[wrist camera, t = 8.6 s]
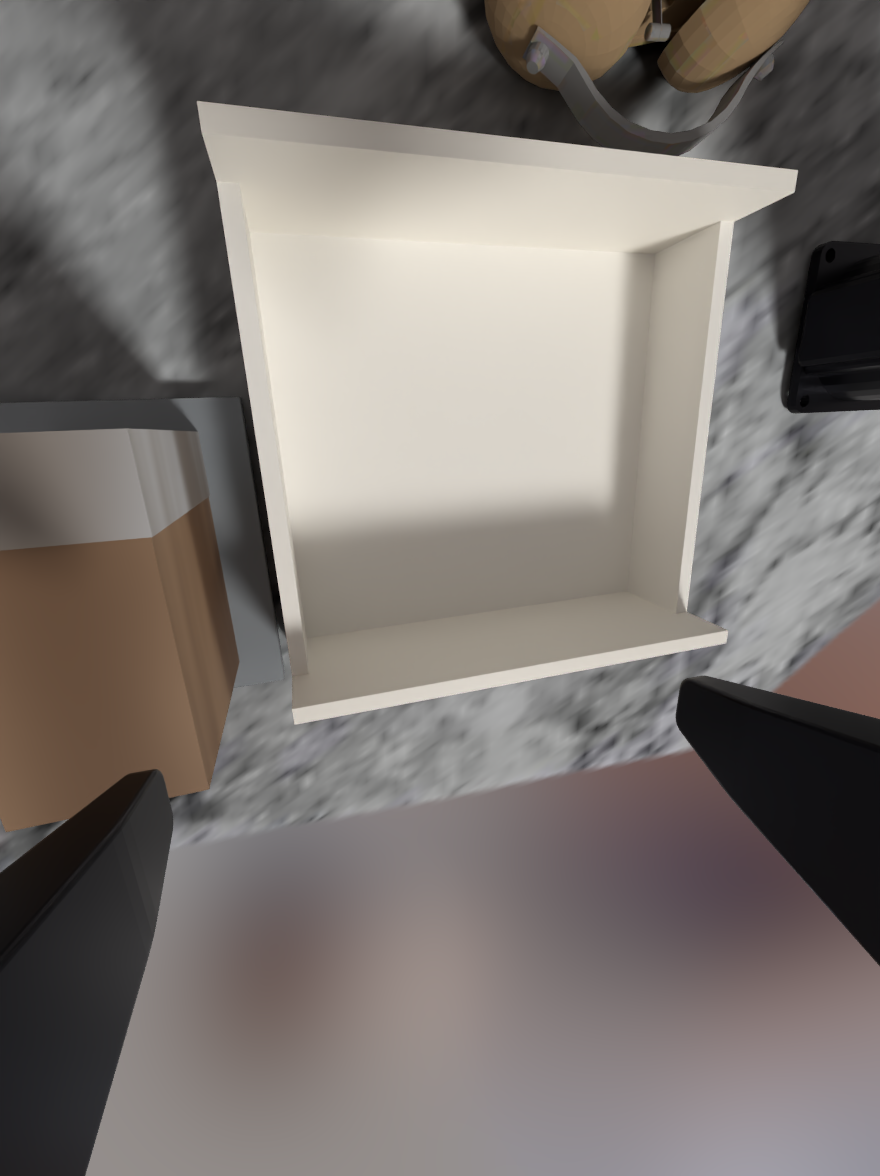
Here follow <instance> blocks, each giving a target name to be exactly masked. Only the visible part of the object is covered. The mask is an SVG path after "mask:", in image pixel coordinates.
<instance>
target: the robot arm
mask: <svg viewBox="0 0 880 1176" xmlns="http://www.w3.org/2000/svg"><path fill="white" fill-rule="evenodd" d="M800 400H801V402H800ZM787 407H788V410H789V411H790V412H791V413H813V412H835V411H857V410H879V409H880V244H868V243H854V242H839V241H831V242H828V243H825V244H822V245H819V246H818V247H817V248H816V249H815V250H814V252H813V254H812V258H811V263H810V269H809V275H808V281H807V287H806V293H805V299H804V305H803V311H802V317H801V323H800V329H799V335H798V341H797V347H796V353H795V359H794V365H793V371H792V377H791V383H790V389H789V395H788V401H787ZM676 723H677V726H678V728H679V730H680V731H681V733H682V734H683V735H684V737H685V738H686V739H687V741H688V742H689V743H690V745H691V746H692V747H693V749H694V750H695V751H696V753H697V754H698V755H699V757H700V758H701V759H702V761H703V762H704V763H705V765H706V766H707V767H708V769H709V770H710V771H711V773H712V774H713V775H714V777H715V778H716V779H717V781H718V782H719V783H720V785H721V786H722V787H723V789H724V790H725V791H726V792H727V794H728V795H729V796H730V798H731V799H732V800H733V801H734V802H735V803H736V805H738V807H739V808H740V809H741V810H742V812H743V813H744V814H745V815H746V816H747V817H748V818H749V819H750V821H751V822H752V823H753V824H754V825H755V826H756V827H757V828H758V830H759V831H760V832H761V833H762V834H763V835H764V836H765V837H766V839H767V840H768V841H769V842H770V843H771V844H772V845H773V846H774V847H775V849H776V850H777V851H778V852H779V853H780V854H781V855H782V856H783V858H784V859H785V860H786V861H787V862H788V863H789V864H790V866H791V867H792V868H793V869H794V870H795V871H796V872H797V873H798V874H799V876H800V877H801V878H802V879H803V880H804V881H805V883H806V884H807V885H808V886H809V887H810V888H811V889H812V890H813V891H814V893H815V894H816V895H817V896H818V897H819V898H820V899H821V901H823V903H824V904H825V905H826V906H827V907H828V908H829V910H830V911H831V912H832V913H833V914H834V915H835V916H836V917H837V918H838V920H839V921H840V922H841V923H842V924H843V925H844V926H845V928H846V929H847V930H848V931H849V932H850V933H851V934H852V935H853V937H854V938H855V939H856V940H857V941H858V942H859V943H860V944H861V945H862V947H863V948H864V949H865V950H866V951H867V952H868V953H869V954H870V956H871V957H872V958H873V959H874V960H875V961H876V962H877V964H878V965H879V966H880V719H877V718H873V717H869V716H865V715H861V714H857V713H853V712H849V711H845V710H841V709H837V708H833V707H829V706H825V705H821V704H817V703H813V702H809V701H805V700H801V699H797V698H793V697H789V696H785V695H781V694H777V693H773V692H769V691H765V690H761V689H757V688H753V687H749V686H745V685H741V684H737V683H733V682H729V681H725V680H721V679H717V678H713V677H709V676H697V677H692V678H687V679H685V680H683V681H682V683H681V685H680V690H679V697H678V703H677V710H676ZM172 831H173V813H172V809H171V805H170V801H169V797H168V793H167V788H166V784H165V780H164V777H163V774H162V773H161V771H159V770H158V769H152V770H146V771H140V772H134V773H129V774H127V775H126V776H124V777H123V778H122V779H120V780H119V781H118V782H116V783H115V784H114V785H113V786H111V787H110V788H109V789H107V790H106V791H105V792H103V793H102V794H101V795H100V796H98V797H97V798H96V799H94V800H93V801H92V802H91V803H89V804H88V805H87V806H85V807H84V808H83V809H82V810H80V811H79V812H78V813H76V814H75V815H74V816H73V817H71V818H70V819H69V820H67V821H66V822H65V823H64V824H62V825H61V826H60V827H58V828H57V829H56V830H55V831H53V832H52V833H51V834H49V835H48V836H47V837H46V838H44V839H43V840H42V841H40V842H39V843H38V844H37V845H35V846H34V847H33V848H31V849H30V850H29V851H28V852H26V853H25V854H24V855H22V856H21V857H20V858H19V859H17V860H16V861H15V862H13V863H12V864H11V865H10V866H8V867H7V868H6V869H4V870H3V871H2V872H1V873H0V1176H85V1175H86V1171H87V1167H88V1164H89V1161H90V1157H91V1154H92V1150H93V1147H94V1143H95V1140H96V1136H97V1133H98V1129H99V1126H100V1122H101V1119H102V1116H103V1112H104V1109H105V1105H106V1101H107V1098H108V1095H109V1092H110V1088H111V1085H112V1081H113V1078H114V1074H115V1071H116V1067H117V1064H118V1060H119V1057H120V1053H121V1050H122V1046H123V1043H124V1040H125V1036H126V1033H127V1029H128V1026H129V1022H130V1019H131V1015H132V1012H133V1008H134V1004H135V1001H136V998H137V994H138V991H139V988H140V984H141V981H142V977H143V974H144V971H145V967H146V963H147V960H148V956H149V953H150V949H151V945H152V941H153V937H154V932H155V927H156V922H157V916H158V911H159V906H160V900H161V894H162V888H163V883H164V877H165V870H166V866H167V860H168V854H169V849H170V843H171V837H172Z"/></svg>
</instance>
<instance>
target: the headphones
mask: <svg viewBox="0 0 880 1176" xmlns="http://www.w3.org/2000/svg"><path fill="white" fill-rule="evenodd" d="M809 1H810V0H485V11H486V18H487V21H488V24H489V27H490V30H491V33H492V36H493V38H494V41H495V43H496V46H497V48H498V49H499V51H500V52H501V54H502V55H503V57H504V58H505V60H506V61H507V63H508V64H509V66H510V67H511V68H512V69H513V70H515V71H516V72H517V73H518V74H519V75H520V76H521V77H523V78H524V79H525V80H526V81H528V82H530V83H532V84H534V85H537V86H539V87H541V88H546V89H552V90H559V91H560V93H561V94H562V96H563V98H564V100H565V101H566V103H567V105H568V106H569V108H570V110H571V111H572V113H573V114H574V116H575V118H576V119H577V121H578V123H579V124H580V125H581V126H582V127H583V128H584V129H585V131H586V132H587V133H588V134H589V135H590V136H591V138H592V139H594V140H595V141H596V142H597V143H599V144H600V145H601V146H603V147H604V148H610V149H619V150H628V151H636V152H645V153H654V154H662V155H671V156H679V155H681V154H684V153H686V152H688V151H690V150H691V149H692V148H694V147H695V146H696V145H697V144H698V143H700V142H701V141H702V140H703V139H704V138H705V137H707V136H708V135H709V134H710V133H711V132H712V131H714V130H715V129H716V128H717V127H718V126H719V125H720V124H722V123H723V122H724V121H725V120H726V119H727V118H728V117H729V116H730V114H731V113H732V112H733V110H734V109H735V108H736V106H737V105H738V103H739V102H740V100H741V98H742V96H743V94H744V92H745V90H746V89H747V87H748V85H749V83H750V82H751V80H752V79H753V77H754V78H756V79H757V80H759V81H761V80H762V79H763V78H764V77H765V76H767V75H768V74H769V73H770V72H771V71H772V70H773V66H774V60H775V59H774V56H773V52H774V51H775V50H776V49H777V48H778V47H779V46H780V45H782V44H783V40H781V41H780V42H779V43H777V44H776V45H775V46H774V47H772V46H773V45H774V44H775V43H776V42H777V41H778V40H779V39H780V38H781V37H782V36H783V35H784V34H785V33H786V31H787V30H788V29H789V28H790V27H791V25H792V24H793V23H794V22H795V21H796V19H797V18H798V17H799V15H800V14H801V12H802V11H803V10H804V8H805V7H806V6H807V4H808V3H809ZM672 38H673V39H672ZM670 39H672V40H671V41H670V42H669V44H668V45H667V46H666V48H665V49H664V50H663V52H662V54H661V55H660V57H659V59H658V61H657V62H658V66H659V68H660V70H661V72H662V74H663V76H664V77H665V79H666V80H667V81H668V83H669V84H670V85H671V86H673V87H674V88H676V89H677V90H679V91H683V92H687V93H698V92H702V91H706V90H709V89H711V88H714V87H716V86H719V85H721V84H723V83H725V82H726V81H728V80H730V79H732V78H734V77H735V76H737V75H738V74H740V73H741V72H742V71H744V70H745V69H747V68H748V67H750V68H749V69H748V70H747V71H746V72H745V73H744V74H743V75H742V76H741V77H740V78H739V79H738V80H737V81H736V82H735V83H734V84H733V85H732V86H731V87H730V88H729V90H728V91H727V92H726V93H725V95H724V96H723V97H722V99H721V101H720V103H719V105H718V107H717V108H716V110H715V112H714V114H713V115H712V117H711V118H710V120H709V121H708V122H707V123H706V124H704V125H702V126H699V127H697V128H695V129H692V130H688V131H682V132H676V133H666V132H659V131H653V130H649V129H647V128H644V127H642V126H639V125H637V124H635V123H632V122H630V121H628V120H627V119H626V118H624V117H623V116H622V115H621V114H619V113H618V112H617V111H616V110H614V109H613V108H612V107H611V106H610V105H609V103H608V102H607V101H606V100H605V99H604V97H603V96H602V95H601V94H600V92H599V91H598V90H597V89H596V87H595V85H594V83H593V82H592V81H594V80H596V79H598V78H600V77H602V76H603V75H604V74H605V73H606V72H607V71H608V70H609V69H610V68H611V67H612V66H613V65H614V64H615V63H616V62H617V61H618V60H619V59H620V58H621V57H622V56H623V55H624V54H625V52H626V50H627V49H628V47H633V46H638V45H643V44H649V43H654V42H659V41H660V42H665V41H666V40H670ZM771 47H772V48H771Z"/></svg>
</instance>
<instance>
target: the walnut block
mask: <svg viewBox="0 0 880 1176" xmlns="http://www.w3.org/2000/svg"><path fill="white" fill-rule="evenodd" d="M209 496H210V492H209V487H208V481H207V476H206V471H205V465H204V460H203V455H202V449H201V444H200V439H199V433H198V432H195V431H173V430H151V429H129V428H125V429H99V430H72V431H45V432H18V433H0V818H1V821H2V823H3V826H4V828H5V831H6V832H9V831H14V830H18V829H23V828H28V827H33V826H37V825H42V824H47V823H52V822H56V821H61V820H66V819H70V818H71V817H73V816H74V815H75V814H76V813H78V812H79V811H80V810H82V809H83V808H84V807H85V806H87V805H88V804H89V803H91V802H92V801H93V800H94V799H96V798H97V797H98V796H100V795H101V794H102V793H103V792H105V791H106V790H107V789H109V788H110V787H111V786H113V785H114V784H115V783H116V782H118V781H119V780H120V779H122V778H123V777H124V776H126V775H127V774H129V773H134V772H140V771H146V770H152V769H158V770H159V771H161V773H162V774H163V777H164V780H165V784H166V788H167V793H168V797H169V798H170V797H175V796H180V795H185V794H189V793H194V792H199V791H204V790H208V789H209V787H210V783H211V779H212V775H213V771H214V766H215V762H216V758H217V754H218V750H219V746H220V741H221V737H222V733H223V729H224V725H225V720H226V716H227V712H228V708H229V704H230V700H231V695H232V691H233V687H234V683H235V679H236V675H237V670H238V666H239V662H240V661H239V656H238V650H237V645H236V640H235V634H234V629H233V624H232V618H231V613H230V608H229V602H228V597H227V592H226V586H225V581H224V576H223V570H222V565H221V560H220V554H219V549H218V544H217V538H216V533H215V528H214V522H213V517H212V512H211V506H210V501H209Z"/></svg>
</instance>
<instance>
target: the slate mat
mask: <svg viewBox="0 0 880 1176" xmlns="http://www.w3.org/2000/svg"><path fill="white" fill-rule="evenodd" d="M125 428H129V429H151V430H173V431H195V432H198V433H199V439H200V444H201V449H202V455H203V460H204V465H205V471H206V476H207V481H208V487H209V492H210V496H209V501H210V506H211V512H212V517H213V522H214V528H215V533H216V538H217V544H218V549H219V554H220V560H221V565H222V570H223V576H224V581H225V586H226V592H227V597H228V602H229V608H230V613H231V618H232V624H233V629H234V634H235V640H236V645H237V650H238V656H239V661H240V662H239V666H238V670H237V675H236V679H235V683H234V687H233V688H237V687H243V686H249V685H255V684H261V683H267V682H273V681H279V680H284V677H285V672H284V665H283V659H282V653H281V646H280V640H279V634H278V627H277V621H276V615H275V609H274V602H273V596H272V590H271V583H270V577H269V571H268V564H267V558H266V552H265V545H264V539H263V533H262V527H261V520H260V514H259V508H258V501H257V495H256V489H255V482H254V476H253V470H252V463H251V457H250V451H249V445H248V438H247V432H246V426H245V419H244V413H243V407H242V400H241V398H240V397H215V398H176V399H136V400H97V401H57V402H18V403H0V433H18V432H45V431H72V430H99V429H125Z"/></svg>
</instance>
